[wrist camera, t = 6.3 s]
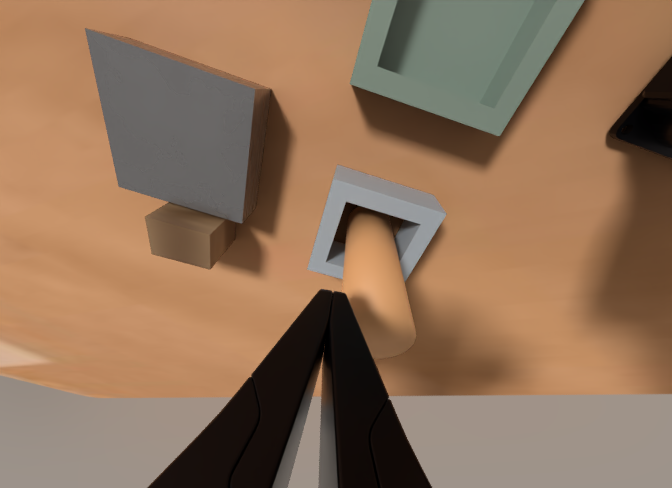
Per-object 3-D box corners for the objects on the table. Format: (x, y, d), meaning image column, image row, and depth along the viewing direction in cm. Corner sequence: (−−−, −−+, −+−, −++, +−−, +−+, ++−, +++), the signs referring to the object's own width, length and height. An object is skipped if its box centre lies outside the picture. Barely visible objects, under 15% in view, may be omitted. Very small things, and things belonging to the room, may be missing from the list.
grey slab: (273, 88, 14) (255, 88, 12) (257, 205, 19) (241, 223, 16) (135, 39, 14) (84, 28, 11) (152, 173, 18) (118, 186, 15)
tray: (595, -74, 10) (657, -117, 8) (478, 129, 14) (499, 136, 12) (415, -155, 9) (432, -227, 7) (351, 84, 14) (349, 83, 11)
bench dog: (236, 208, 18) (209, 234, 15) (234, 239, 20) (210, 269, 17) (184, 193, 18) (144, 216, 15) (186, 226, 20) (151, 254, 16)
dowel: (396, 210, 18) (431, 322, 9) (380, 245, 19) (396, 365, 11) (355, 198, 17) (351, 301, 9) (342, 234, 19) (329, 348, 11)
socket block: (433, 195, 17) (446, 214, 14) (392, 269, 20) (397, 294, 18) (337, 164, 16) (333, 178, 14) (313, 246, 20) (307, 269, 17)
